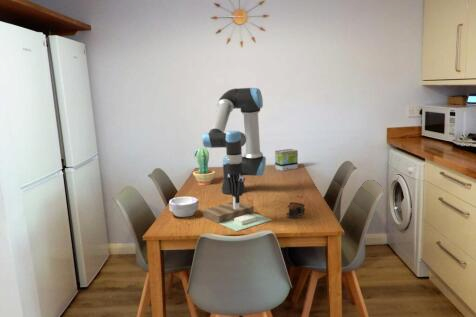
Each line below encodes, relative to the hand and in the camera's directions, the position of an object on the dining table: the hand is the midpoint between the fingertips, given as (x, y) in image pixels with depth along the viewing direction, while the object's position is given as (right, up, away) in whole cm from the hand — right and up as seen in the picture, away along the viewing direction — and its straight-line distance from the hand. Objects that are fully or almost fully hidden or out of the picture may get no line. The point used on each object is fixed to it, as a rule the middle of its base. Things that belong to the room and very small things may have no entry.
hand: (236, 208), depth 199 cm
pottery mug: (+31, -4, +1) cm, 31 cm away
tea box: (+39, +17, +112) cm, 119 cm away
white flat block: (+4, -4, -5) cm, 8 cm away
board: (-4, -4, +6) cm, 9 cm away
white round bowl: (-28, -5, +11) cm, 30 cm away
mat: (+5, -6, -4) cm, 9 cm away
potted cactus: (-22, +8, +76) cm, 79 cm away
